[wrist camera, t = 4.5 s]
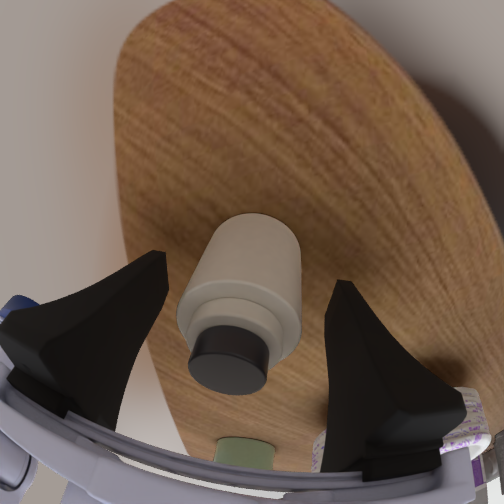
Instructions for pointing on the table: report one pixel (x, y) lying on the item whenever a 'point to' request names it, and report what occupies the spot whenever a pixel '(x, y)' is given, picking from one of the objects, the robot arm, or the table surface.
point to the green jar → (244, 453)
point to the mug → (490, 465)
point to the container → (479, 481)
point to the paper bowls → (466, 434)
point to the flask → (500, 456)
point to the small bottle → (243, 304)
